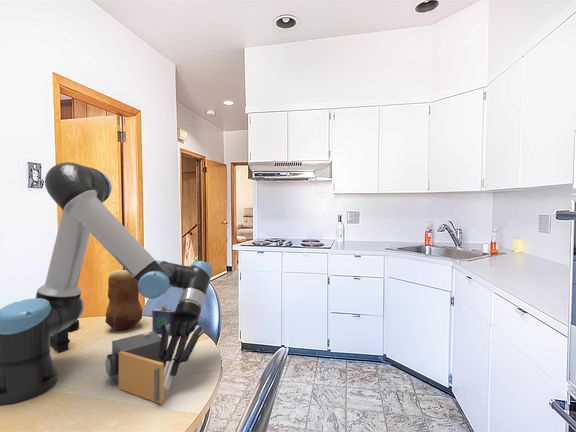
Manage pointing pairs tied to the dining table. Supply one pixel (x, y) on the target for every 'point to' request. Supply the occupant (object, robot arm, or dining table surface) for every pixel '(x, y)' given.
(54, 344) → the black upright slab
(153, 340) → the block
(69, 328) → the tape measure
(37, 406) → the dining table surface
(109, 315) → the butternut squash
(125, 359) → the side door
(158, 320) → the flask
